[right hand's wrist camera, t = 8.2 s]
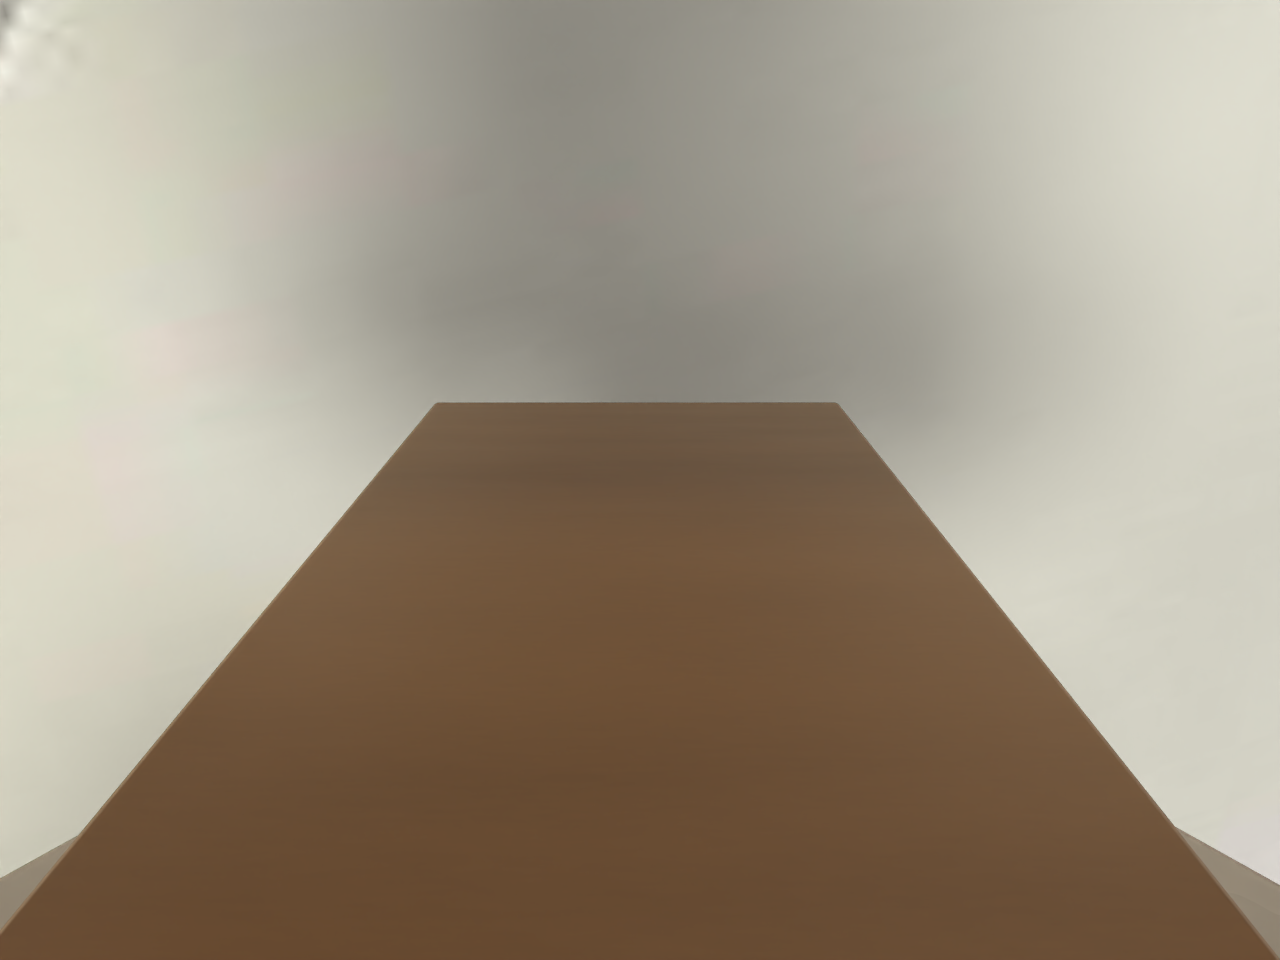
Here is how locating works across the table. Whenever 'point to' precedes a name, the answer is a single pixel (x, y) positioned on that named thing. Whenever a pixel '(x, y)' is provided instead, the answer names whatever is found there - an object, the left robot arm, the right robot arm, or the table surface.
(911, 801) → the bar
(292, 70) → the table surface
